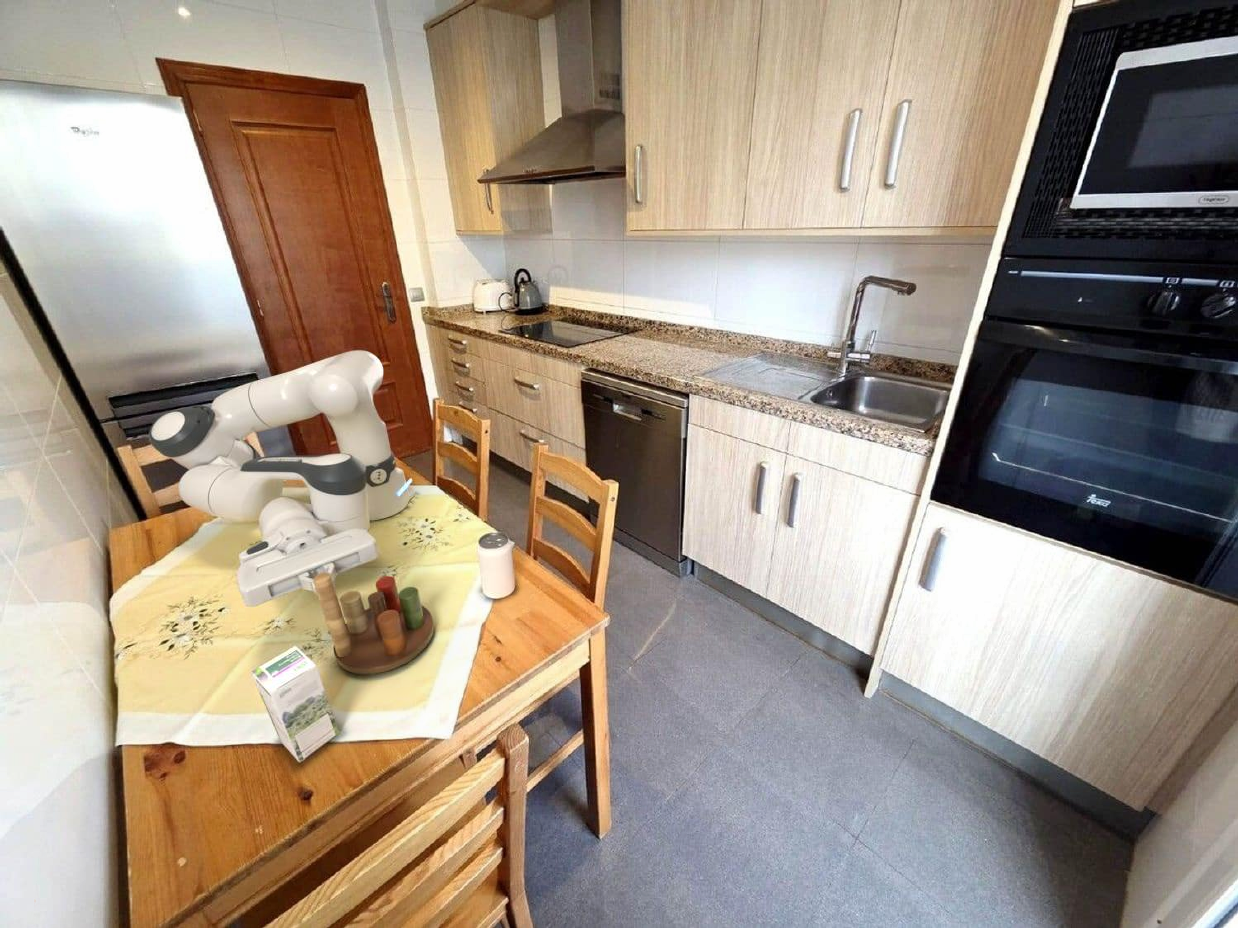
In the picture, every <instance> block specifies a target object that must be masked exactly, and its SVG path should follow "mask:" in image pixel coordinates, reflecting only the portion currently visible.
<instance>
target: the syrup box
mask: <svg viewBox="0 0 1238 928" xmlns="http://www.w3.org/2000/svg"><path fill="white" fill-rule="evenodd" d="M250 673H251V676H252V679H253V681H254V683H255V686H256V688H257V690H258V692H259V694H260V697H261V699H262V702H263V704H264V706H265V709H266V711H267V714H268V716H269V718H270V720H271V723H272V725H273V727H274V730H275V733H276V735H277V737H278V739H279V741H280V743H281V744H282V745H283V746H284V747H285V748H286V749H287V751H289V753H290V754H291V755H292V757H294V759H295V760H296V761H297V762H298V763H302V762H304V761H305V760H306V759H308V758H309V757H310V756H311V755H313V754H314V753H315V752H317V751H318V750H319V749H321V748H322V747H323V746H324V745H326V744H327V743H328V742H330V741H332V740H333V739H334V738H335V737H337V736H338V735H339V734H340V731H339V727H338V725H337V722H336V719H335V716H334V713H333V710H332V707H331V704H330V701H329V697H328V695H327V692H326V689H325V686H324V683H323V680H322V676H321V673H320V670H319V668H318V665H317V664H316V663H315V662H314V661H313V660H312V659H311V658H309V657H308V656H307V655H306V653H304V652H303V651H302V650H301V649H300V648H298V647H297V645H294V646H292V647H291V648H289V649H288V650H286V651H284V652H282V653H280V654H279V655H277V656H276V657H274V658H272V659H270V660H269V661H267V662H266V663H264V664H262V665H260V666H259V667H257V668H255V669H254V670H252V671H251V672H250Z"/></svg>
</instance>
